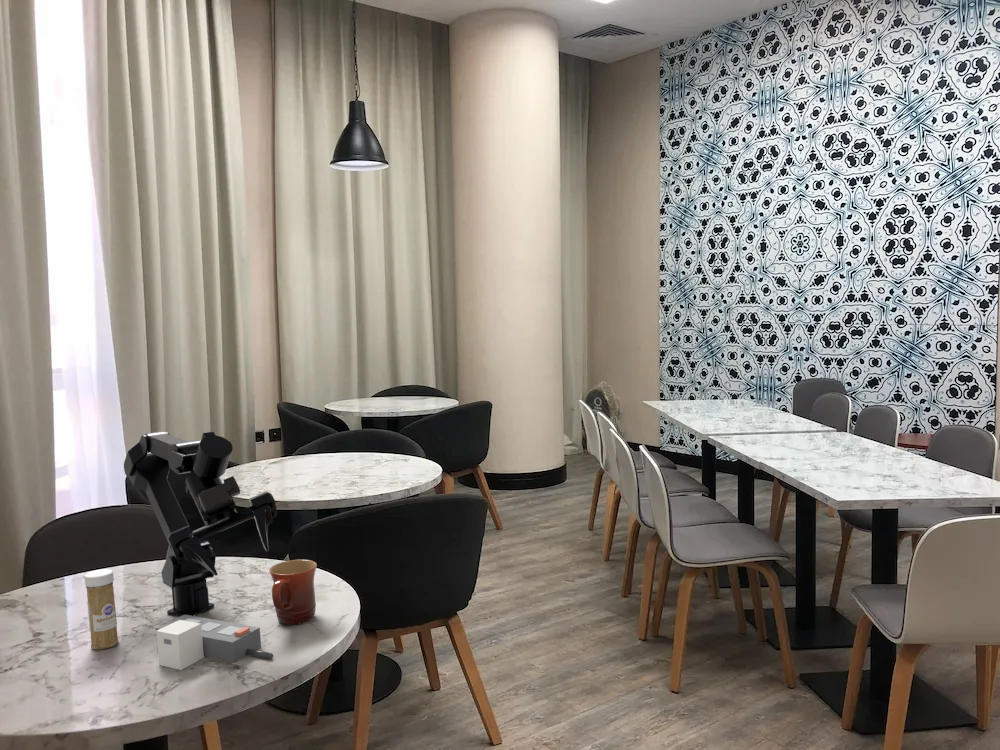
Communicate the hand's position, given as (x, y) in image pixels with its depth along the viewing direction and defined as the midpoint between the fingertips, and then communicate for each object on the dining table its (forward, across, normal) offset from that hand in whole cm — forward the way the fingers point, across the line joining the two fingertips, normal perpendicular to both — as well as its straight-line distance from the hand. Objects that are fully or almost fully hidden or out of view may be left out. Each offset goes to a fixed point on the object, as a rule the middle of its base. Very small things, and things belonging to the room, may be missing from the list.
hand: (242, 562), depth 139 cm
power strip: (+8, -8, +11) cm, 16 cm away
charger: (+7, -14, +9) cm, 18 cm away
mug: (+7, +5, +17) cm, 19 cm away
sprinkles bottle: (-6, -25, +17) cm, 31 cm away
